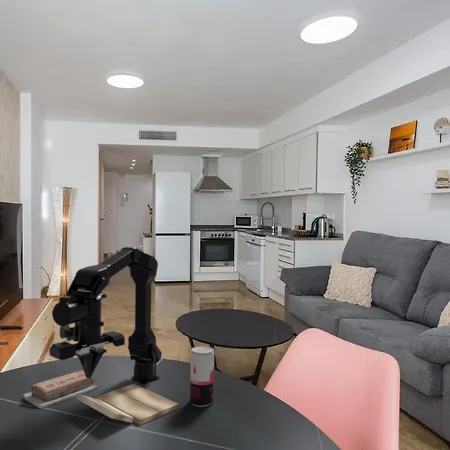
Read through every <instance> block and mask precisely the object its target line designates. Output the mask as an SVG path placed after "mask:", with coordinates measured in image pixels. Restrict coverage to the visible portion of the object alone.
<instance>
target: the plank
mask: <svg viewBox="0 0 450 450" xmlns="http://www.w3.org/2000/svg"><path fill="white" fill-rule="evenodd" d="M75 398H76V400H78V401H80V402H82V403H84V404H85V405H87V406H89V407H90V408H92V409H94V410H95V411H98V412H100V414H103V415H105V416H107V417H108V418H109V419H113V420H118V421H121V422H122V421H123V422H127V423H134V422H133V419H134V417H132V416H130V415H128V414H126V413H124V412H122V411H120V410H118V409H116V408H115V407H113V406H111V405H109V404H107V403H105V402H103V401H101V400H99V399H96V397H93V396H88V395H84V394H78V395H77V396H76V397H75Z"/></svg>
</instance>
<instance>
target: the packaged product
mask: <svg viewBox="0 0 450 450" xmlns="http://www.w3.org/2000/svg"><path fill="white" fill-rule="evenodd" d="M94 381H95V380H94V377H93V375H92V376H91V378H86V376H85V373H84V370H83V369H82V370H77V371H74V372H71V373H67V374H64V375H61V376H57V377H54V378H51V379H47V380H44V381H43V380H42V381H40V382H38V383H35V384H32V385H31V391H29V392H27V393H24V394H22V395H23V399H24V401H25V400H26V401H27V402H28V403H30V404H32V405H34V406H35V407H37V408H39V409H40V410H41V409H44V408H48V407H50V406H52V405H54V404H58V403H61V402H64V401H67V400H71V399H73V398H77V395H78V394H81V395H84V394H86V393H88V392H89V393H90V392H92V391H95V390H98V389H99V386H97V385H96V384H95V382H94Z"/></svg>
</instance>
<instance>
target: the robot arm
mask: <svg viewBox="0 0 450 450" xmlns="http://www.w3.org/2000/svg"><path fill="white" fill-rule="evenodd" d="M158 267H159V264H158V260H157V259H156V257H155V256H152V255H150V254H148V253H145V252H144V251H142V250H140V249H139V248H137V247H132V246H131V247H129V246H124V247H123V248H121V249H120V250H119V251H118V252H116V253H114V254H112V255H111V256H110V257H108V258H107V259H105V260H103V261H102V262H100V263H98V264H95V265H94V264H93V265H90V266H89V265H88V266H85V267H83V268H79V269H78V271H76V273H75V276H74V278H73V280H72V282H71V283H70V285H69V287H68V290H67V291H66V293H65V296H60V297H59V301H58V302H57V303H56V304H55V305H54V307H53V309H52V313H51V315H52V319H53V321H54V323H55V324H56V325H58V326H59V337H60V339H61V340H62V339H66V340H65V341H62V342H57V343H56V342H55V343H52V345H51V346H50V347H49V356H50V357H53V358H55V359H57V360H58V361H64V360H69V359H73V358H74V357H77V358H78V360H79V362H80V363H81V367H82V370H83V371H84V373H85V376H86V378H91V376H92V377H93V374H94V372H95V370H96V368H97V366H98V364H99V363H100V360H101V359H102V357H103V356H104V354H106V353H107V349H106V348H105V347H104V346H105V345H108V344H112V345H113V346H114V347H115V348H116V347H117V348H118V347H120V346H121V347H122V346H125V344H126V338H125V335H124V334H123V333H121V332H117V331H114V330H112V331H111V330H110V331H107V332H103V333H102V327H103V326H105V321H102V302H103V301H102V300H103V299H106V298H107V297H108V295H107V294H105V293H104V292H103V291H104V289H106V288H107V286H108V285H109V284H110V282H111V278H112V277H114V276H115V275H116V274H118V273H120V271H122V270H124V269H125V268H129V275H130V277H131V279H132V281H133V283H134V284H135V285H134V286H135V287H134V291H135V292H134V295H135V296H134V298H135V299H134V303H135V304H134V330H133V332H132V334H131V335H129V336H128V340H127V341H128V345H127V350H128V353H129V357H130V360H131V361H134V367H133V376H131V379H132V380H134V381H137V382H139V383H141V384H147V383H150V382H153V381H155V380H156V381H157V380H158V379H160V376H158V375H157V363H160V361H161V359H162V354H163V353H162V351H161V349H160V348H159V347H158V345H157V337H156V335H155V333H154V332H153V330H152V283H153V282H154V280H155V278H156V277H157V272H158ZM72 324H74V326H72V327H71V326H70V325H72ZM70 341H73V342H74V343H70ZM75 342H76V343H75Z"/></svg>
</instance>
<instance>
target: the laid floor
mask: <svg viewBox="0 0 450 450" xmlns="http://www.w3.org/2000/svg"><path fill="white" fill-rule="evenodd" d="M95 398H96V399H99V400H101V401H103V402H105V403H107V404H109V405H111V406H113V407H115V408H116V409H118V410H120V411H122V412H124V413H126V414H128V415H130V416H132V417H134V419H133V422H132V423H135V424H137V425H139V426H141V425H144V424H146V423H149V422H151V421H153V420H155V419H157V418H159V417H162V416H164V415H166V414H168V413H171V412H173V411H175V410H178V409H179V406H180V405H179V403H178V402H175V401H173V400H171V399H168V398H166V397H164V396H162V395H160V394H158V393H155V392H153V391H151V390H148V389H146V388H143V387H141V386H139V385H137V384H135V383H132V384H129V385H126V386H123V387H120V388H118V389H115V390H112V391H109V392H107V393H103V394H100V395H97V396H95Z"/></svg>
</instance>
